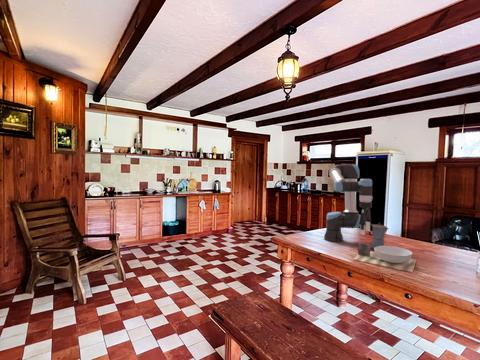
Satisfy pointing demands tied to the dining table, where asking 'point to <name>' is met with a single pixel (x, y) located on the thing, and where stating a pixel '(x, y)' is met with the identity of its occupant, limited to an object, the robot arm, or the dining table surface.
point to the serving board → (372, 258)
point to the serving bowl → (393, 254)
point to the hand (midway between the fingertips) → (365, 232)
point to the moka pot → (378, 235)
